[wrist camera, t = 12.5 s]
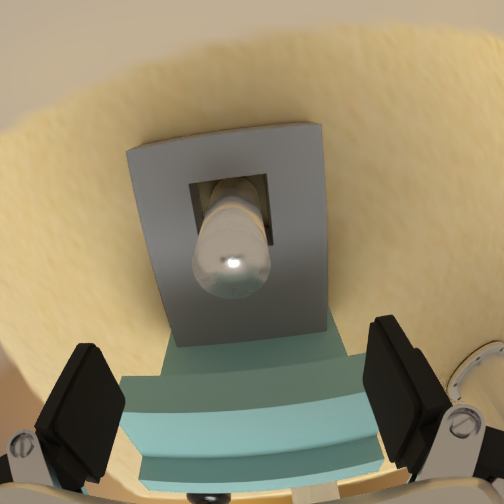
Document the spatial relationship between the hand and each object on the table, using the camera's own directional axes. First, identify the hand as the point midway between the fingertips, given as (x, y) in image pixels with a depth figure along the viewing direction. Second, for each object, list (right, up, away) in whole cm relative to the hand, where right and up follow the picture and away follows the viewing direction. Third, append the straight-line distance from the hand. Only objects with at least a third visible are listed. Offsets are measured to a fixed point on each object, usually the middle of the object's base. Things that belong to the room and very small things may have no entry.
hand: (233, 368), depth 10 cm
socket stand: (-1, +5, +19) cm, 19 cm away
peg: (-1, +8, +17) cm, 19 cm away
